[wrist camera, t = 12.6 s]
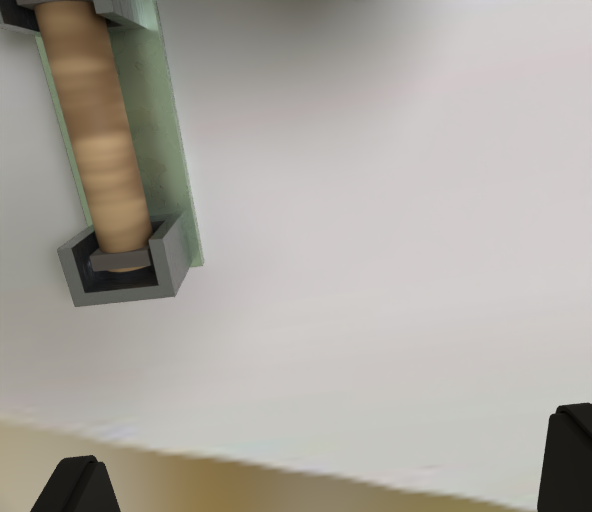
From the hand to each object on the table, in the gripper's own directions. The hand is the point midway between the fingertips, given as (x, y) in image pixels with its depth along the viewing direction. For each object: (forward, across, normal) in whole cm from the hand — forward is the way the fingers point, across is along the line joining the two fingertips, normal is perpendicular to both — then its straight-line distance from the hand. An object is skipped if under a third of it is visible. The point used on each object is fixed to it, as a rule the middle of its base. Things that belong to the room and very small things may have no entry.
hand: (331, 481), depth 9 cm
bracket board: (+30, +13, -6) cm, 34 cm away
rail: (+27, +13, -6) cm, 31 cm away
